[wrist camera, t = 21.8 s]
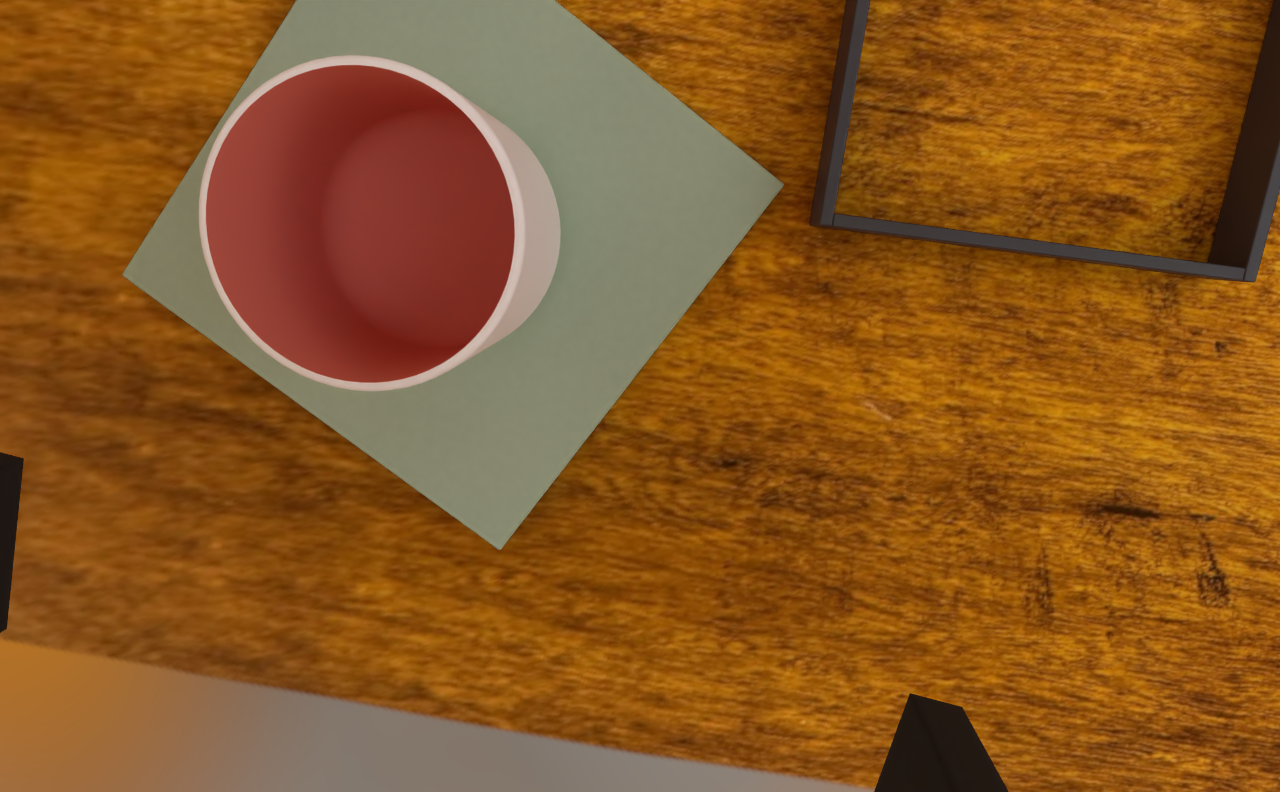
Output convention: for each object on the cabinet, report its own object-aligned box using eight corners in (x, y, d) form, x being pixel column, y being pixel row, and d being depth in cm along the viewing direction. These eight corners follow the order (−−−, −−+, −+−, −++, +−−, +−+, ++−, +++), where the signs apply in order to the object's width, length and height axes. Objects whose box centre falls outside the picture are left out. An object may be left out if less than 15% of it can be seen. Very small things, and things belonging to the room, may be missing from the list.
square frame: (1329, -169, 32) (1383, -203, 30) (1215, 279, 35) (1255, 282, 33) (883, -227, 32) (900, -265, 30) (809, 225, 36) (819, 224, 33)
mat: (782, 185, 35) (784, 184, 35) (502, 546, 39) (499, 551, 38) (388, -131, 34) (383, -138, 33) (129, 274, 37) (120, 275, 36)
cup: (597, 306, 36) (570, 332, 26) (379, 381, 37) (274, 433, 27) (515, 70, 34) (453, 3, 24) (289, 154, 35) (142, 122, 25)
